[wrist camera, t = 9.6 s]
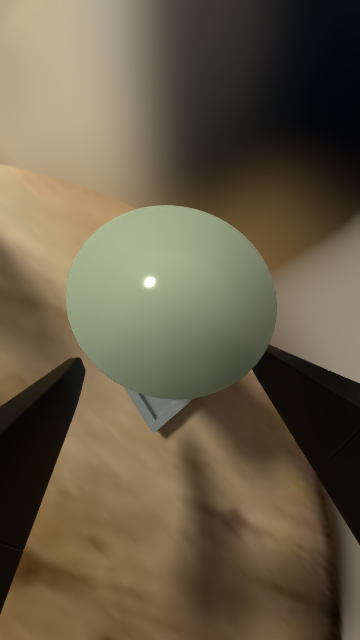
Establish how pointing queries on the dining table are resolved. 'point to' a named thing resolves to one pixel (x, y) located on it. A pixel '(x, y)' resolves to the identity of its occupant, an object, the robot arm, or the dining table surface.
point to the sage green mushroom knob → (171, 302)
